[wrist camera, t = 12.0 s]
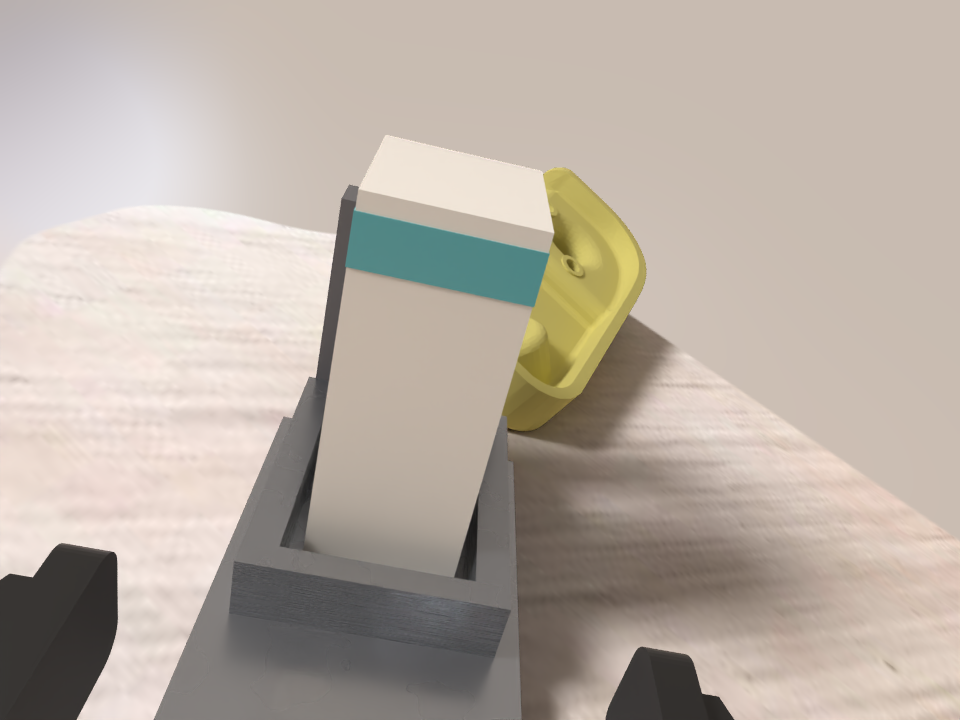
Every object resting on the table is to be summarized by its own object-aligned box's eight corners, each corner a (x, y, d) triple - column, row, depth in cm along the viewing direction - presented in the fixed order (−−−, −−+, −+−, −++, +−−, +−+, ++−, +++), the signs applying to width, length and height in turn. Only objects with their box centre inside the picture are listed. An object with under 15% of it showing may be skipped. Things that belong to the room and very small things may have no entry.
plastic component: (566, 419, 32) (394, 254, 32) (468, 499, 37) (316, 355, 37) (662, 258, 48) (547, 147, 48) (586, 327, 53) (480, 226, 52)
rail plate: (510, 957, 17) (553, 875, 15) (93, 902, 16) (88, 809, 14) (504, 490, 31) (526, 420, 29) (279, 448, 30) (288, 372, 28)
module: (448, 600, 23) (555, 234, 17) (298, 574, 23) (356, 189, 17) (455, 492, 28) (542, 171, 22) (329, 468, 27) (384, 134, 21)
